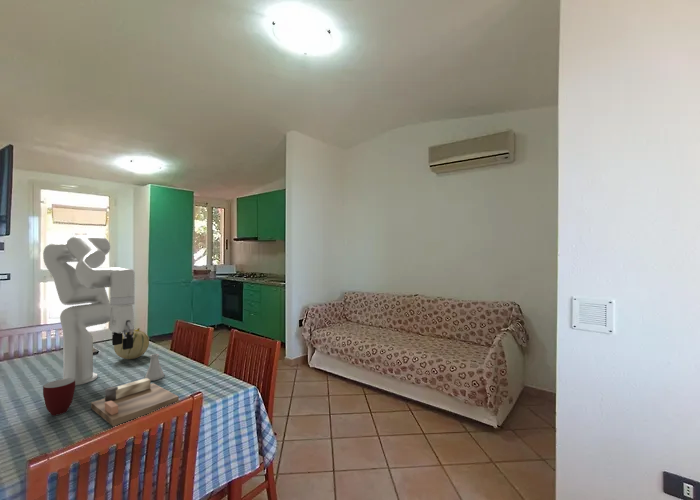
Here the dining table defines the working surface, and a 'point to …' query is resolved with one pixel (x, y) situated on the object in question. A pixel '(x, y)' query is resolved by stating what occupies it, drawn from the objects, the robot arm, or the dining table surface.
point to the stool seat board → (135, 404)
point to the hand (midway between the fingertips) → (122, 346)
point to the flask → (154, 369)
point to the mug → (59, 395)
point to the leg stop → (111, 407)
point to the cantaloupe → (138, 346)
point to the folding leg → (127, 389)
